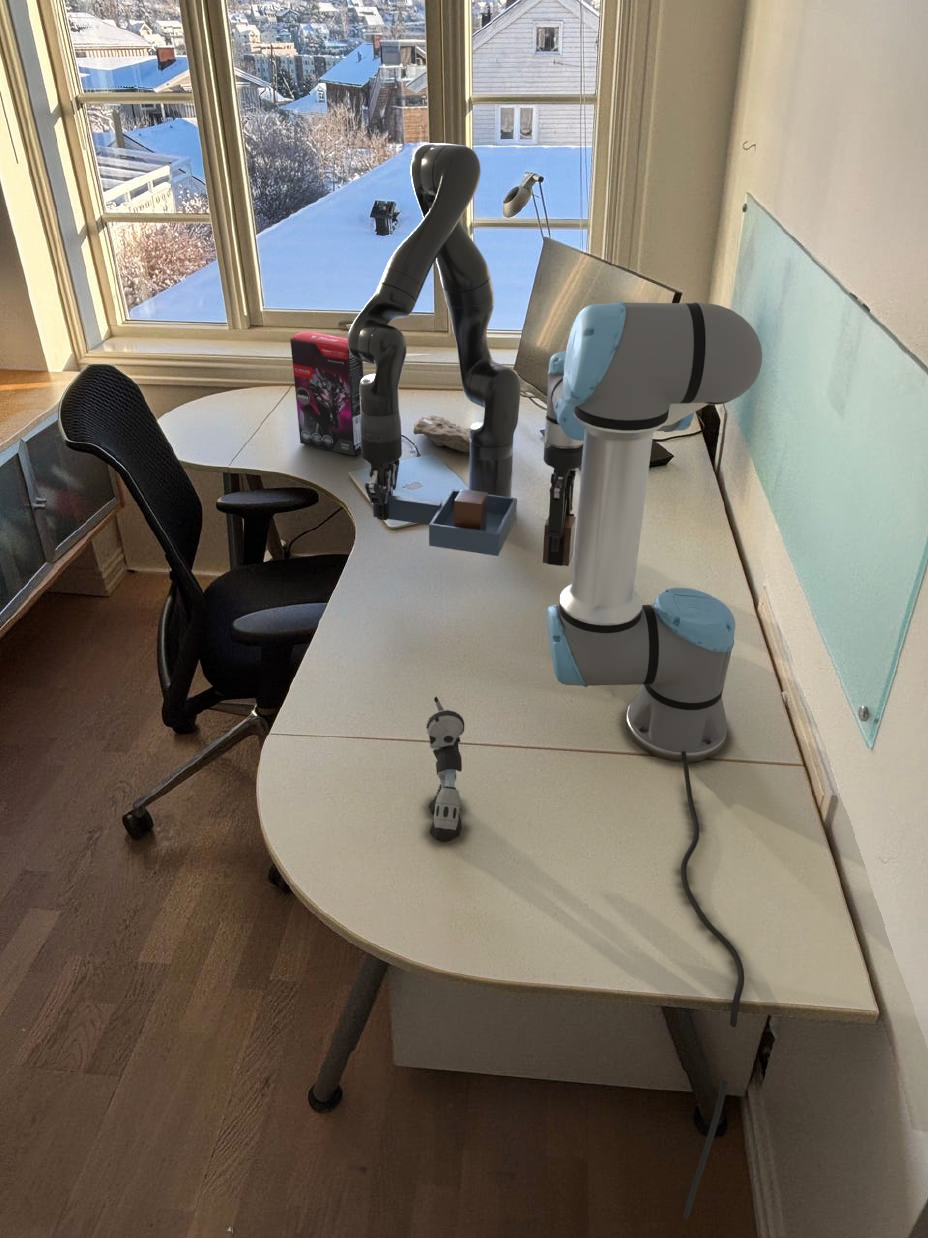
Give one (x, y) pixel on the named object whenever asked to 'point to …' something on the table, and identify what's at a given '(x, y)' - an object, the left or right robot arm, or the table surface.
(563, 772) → the table surface
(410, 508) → the tray
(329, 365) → the graphics card box
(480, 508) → the walnut block
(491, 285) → the left robot arm
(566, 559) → the walnut block
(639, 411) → the right robot arm
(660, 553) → the table surface
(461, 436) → the stone
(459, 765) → the robot
